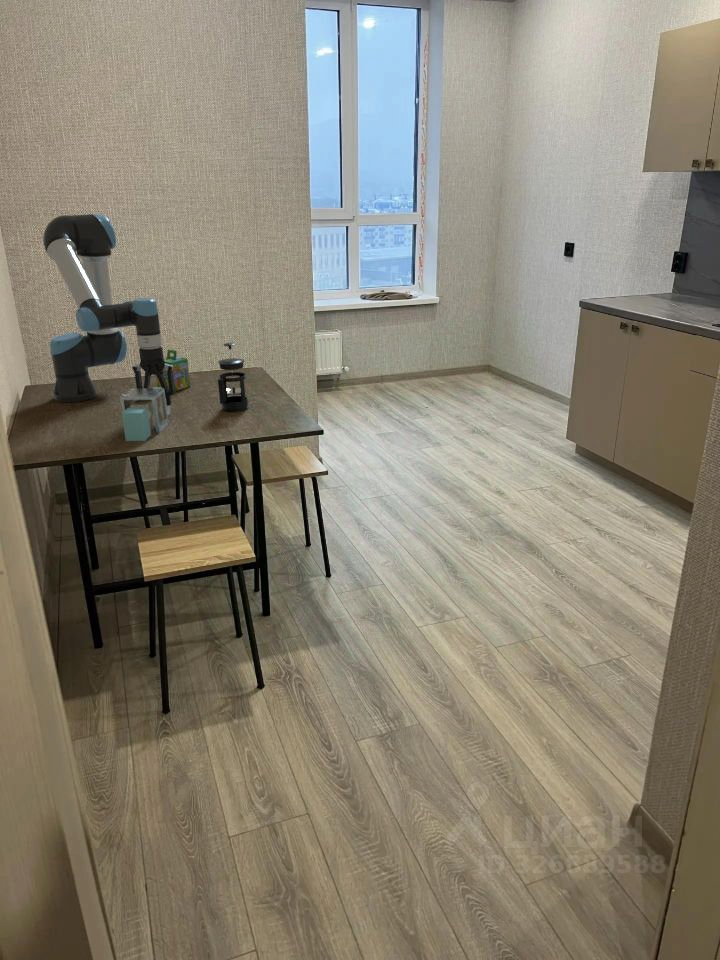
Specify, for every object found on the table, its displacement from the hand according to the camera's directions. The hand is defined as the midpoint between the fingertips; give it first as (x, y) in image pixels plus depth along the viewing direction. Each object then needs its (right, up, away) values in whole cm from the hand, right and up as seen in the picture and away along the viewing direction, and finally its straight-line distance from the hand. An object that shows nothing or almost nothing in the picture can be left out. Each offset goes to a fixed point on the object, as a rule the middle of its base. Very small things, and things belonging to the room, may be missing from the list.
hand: (159, 414), depth 240 cm
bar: (0, -3, -6) cm, 7 cm away
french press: (+25, +3, +7) cm, 26 cm away
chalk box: (-4, +13, +36) cm, 38 cm away
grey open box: (0, -6, -12) cm, 13 cm away
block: (-1, -9, -21) cm, 23 cm away
